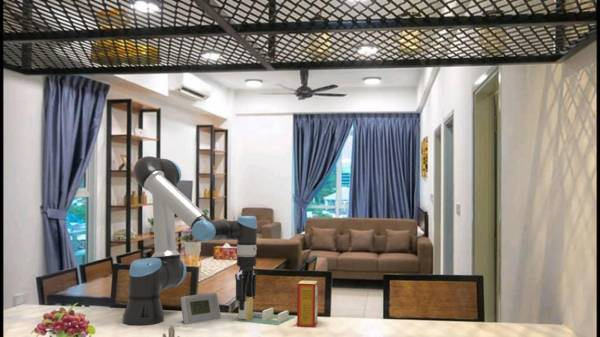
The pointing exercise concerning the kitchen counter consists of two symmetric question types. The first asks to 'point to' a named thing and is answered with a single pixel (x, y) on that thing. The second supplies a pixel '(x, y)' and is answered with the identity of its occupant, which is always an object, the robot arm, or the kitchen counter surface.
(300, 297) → the baking soda box
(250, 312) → the tan yellow block
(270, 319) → the board
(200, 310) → the digital clock
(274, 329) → the kitchen counter surface
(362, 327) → the kitchen counter surface
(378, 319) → the kitchen counter surface
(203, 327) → the kitchen counter surface
